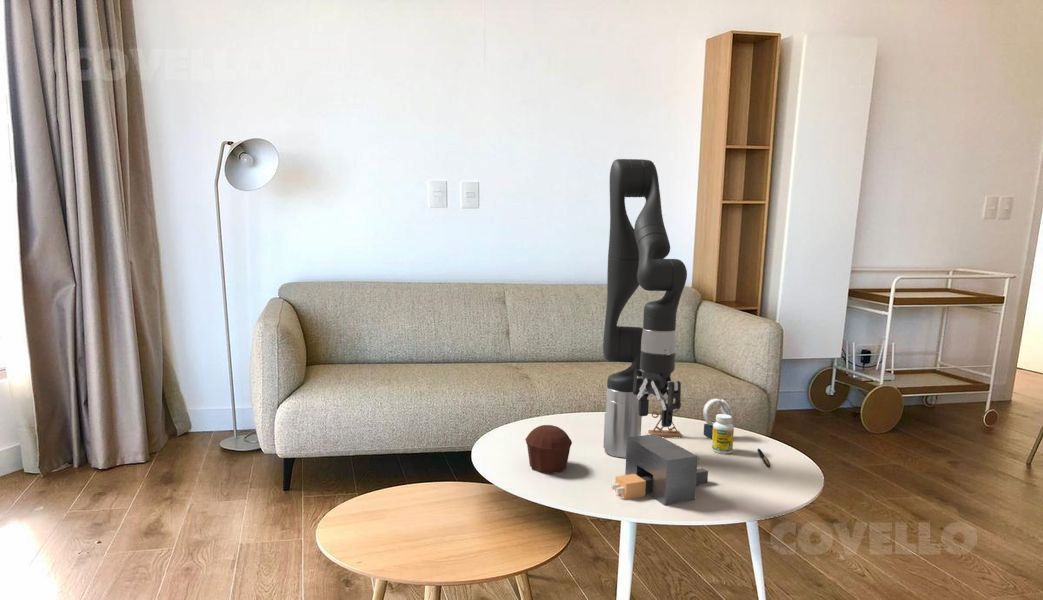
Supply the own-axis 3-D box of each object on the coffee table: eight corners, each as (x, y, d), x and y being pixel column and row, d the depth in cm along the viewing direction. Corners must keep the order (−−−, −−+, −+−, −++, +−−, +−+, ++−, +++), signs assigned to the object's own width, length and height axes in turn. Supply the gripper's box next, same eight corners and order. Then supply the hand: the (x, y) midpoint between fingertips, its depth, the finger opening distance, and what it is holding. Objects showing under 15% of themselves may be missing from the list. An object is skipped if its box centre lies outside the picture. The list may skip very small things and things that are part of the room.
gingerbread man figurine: (650, 437, 193) (652, 395, 192) (647, 433, 197) (649, 392, 195) (682, 438, 193) (684, 396, 192) (678, 433, 197) (681, 392, 195)
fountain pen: (755, 450, 185) (755, 444, 185) (759, 450, 185) (760, 445, 185) (766, 469, 171) (767, 463, 171) (771, 469, 171) (772, 464, 171)
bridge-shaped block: (625, 478, 162) (626, 437, 161) (653, 474, 165) (655, 433, 164) (664, 505, 148) (667, 460, 146) (695, 500, 151) (697, 456, 149)
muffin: (580, 471, 166) (581, 431, 165) (540, 478, 161) (541, 437, 159) (554, 455, 176) (555, 418, 175) (516, 462, 171) (517, 423, 170)
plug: (608, 492, 154) (609, 477, 153) (698, 478, 164) (699, 464, 163) (619, 500, 150) (620, 484, 149) (710, 485, 159) (711, 470, 159)
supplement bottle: (729, 448, 186) (732, 413, 184) (734, 454, 180) (736, 419, 179) (709, 447, 186) (711, 412, 185) (713, 453, 181) (716, 418, 179)
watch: (733, 439, 193) (736, 401, 192) (707, 441, 191) (710, 402, 190) (722, 433, 198) (725, 396, 197) (697, 434, 196) (700, 397, 195)
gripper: (625, 344, 156) (622, 414, 158) (664, 356, 143) (660, 432, 145) (652, 342, 159) (649, 411, 161) (692, 354, 146) (688, 428, 148)
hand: (654, 420), depth 153 cm, fingers open, 8 cm apart
